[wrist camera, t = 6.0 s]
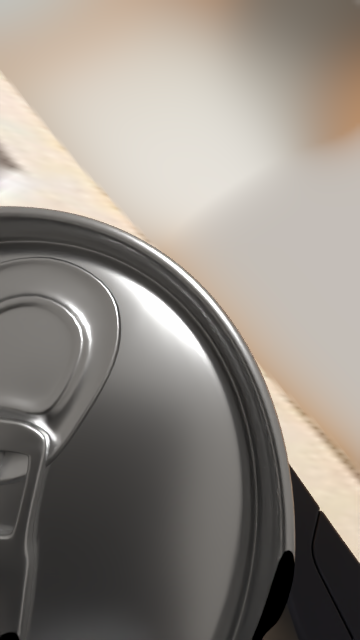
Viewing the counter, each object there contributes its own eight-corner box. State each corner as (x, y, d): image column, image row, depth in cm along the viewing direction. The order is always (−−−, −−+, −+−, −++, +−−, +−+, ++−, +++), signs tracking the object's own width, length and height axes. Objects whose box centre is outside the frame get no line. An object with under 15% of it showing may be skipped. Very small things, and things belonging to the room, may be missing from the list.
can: (205, 355, 14) (336, 209, 3) (193, 485, 13) (398, 1441, 1) (92, 340, 14) (-222, 140, 3) (64, 467, 13) (-1002, 1202, 1)
